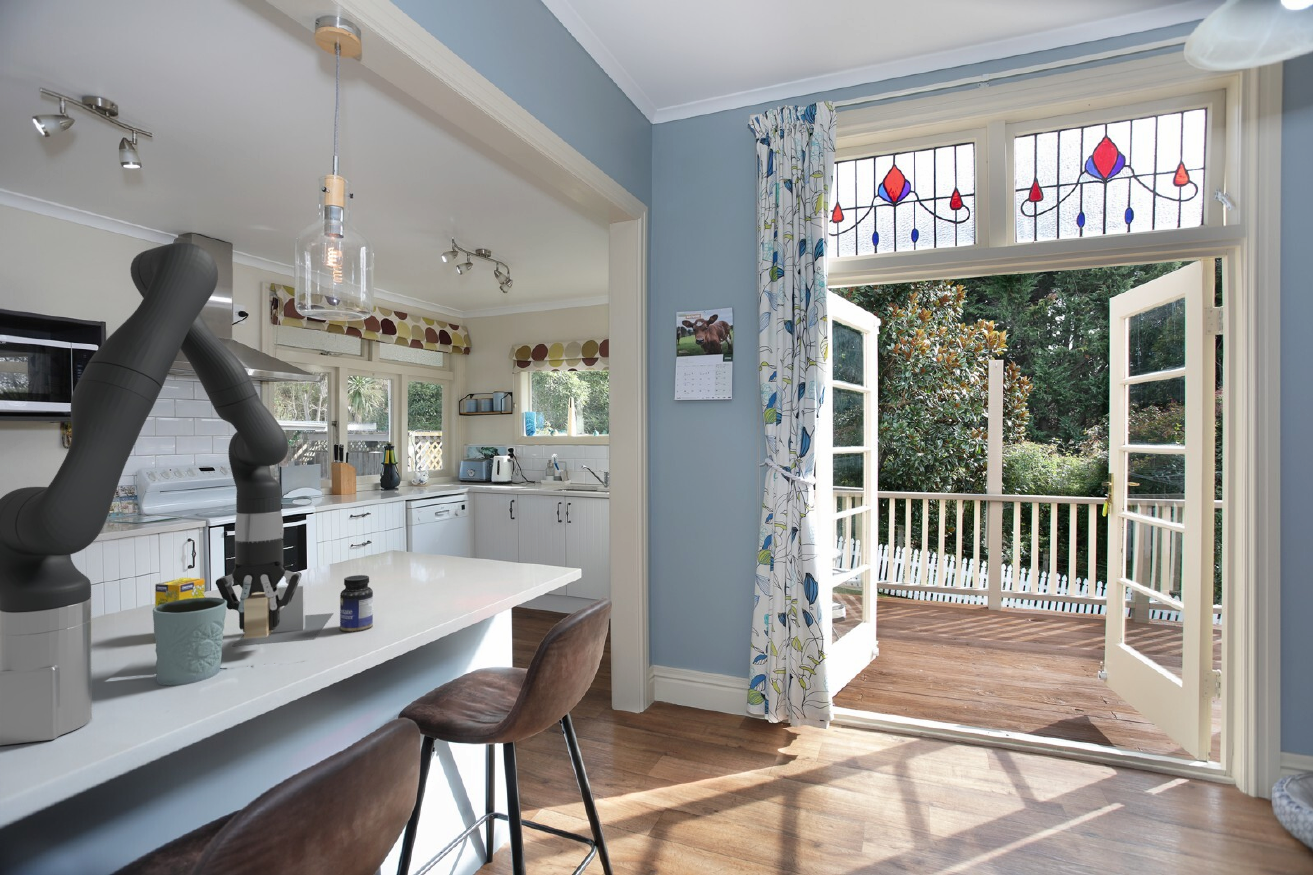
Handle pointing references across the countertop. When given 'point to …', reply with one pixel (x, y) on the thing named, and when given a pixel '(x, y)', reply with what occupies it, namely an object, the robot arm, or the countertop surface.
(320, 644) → the countertop surface
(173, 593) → the supplement box
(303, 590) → the tile
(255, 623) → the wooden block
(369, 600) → the pill bottle
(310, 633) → the mat
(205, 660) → the green embossed planter
